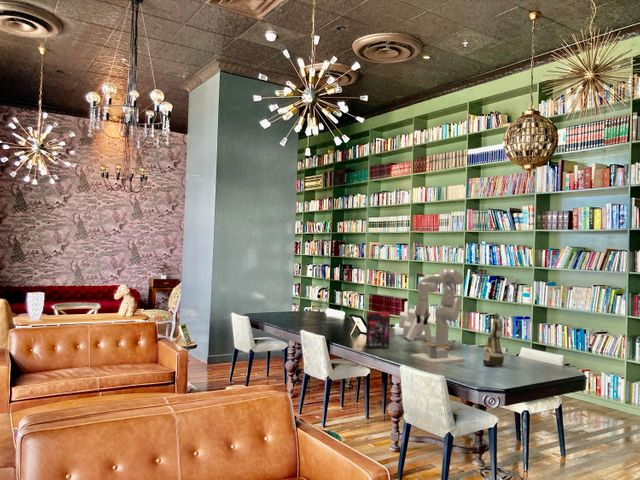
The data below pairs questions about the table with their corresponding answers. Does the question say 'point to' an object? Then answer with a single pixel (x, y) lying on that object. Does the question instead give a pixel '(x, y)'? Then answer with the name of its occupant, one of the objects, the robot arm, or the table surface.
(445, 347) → the bar
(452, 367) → the table surface
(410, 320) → the pile of blocks
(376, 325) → the graphics card box
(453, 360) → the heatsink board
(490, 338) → the statue
